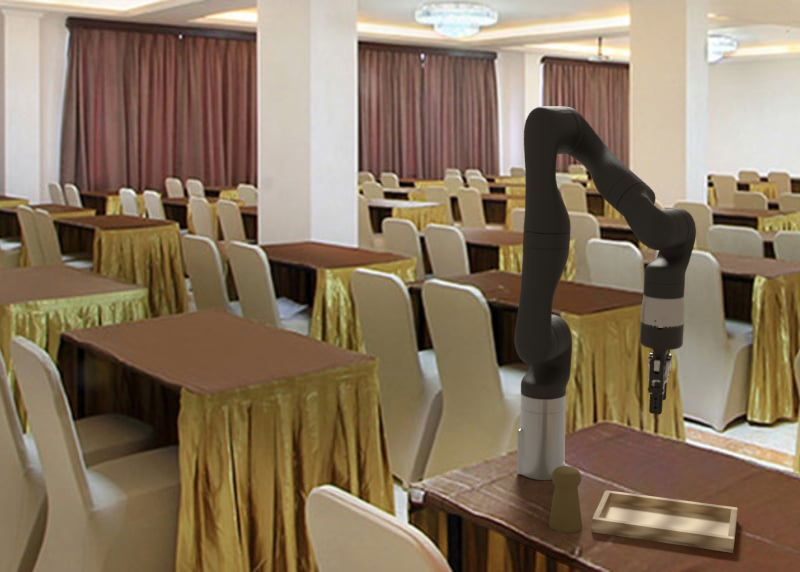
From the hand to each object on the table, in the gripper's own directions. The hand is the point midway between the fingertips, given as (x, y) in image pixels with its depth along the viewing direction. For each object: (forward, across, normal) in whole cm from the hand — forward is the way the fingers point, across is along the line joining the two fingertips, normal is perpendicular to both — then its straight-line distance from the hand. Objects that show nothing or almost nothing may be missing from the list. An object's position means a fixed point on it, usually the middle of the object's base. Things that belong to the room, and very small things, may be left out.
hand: (657, 406), depth 175 cm
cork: (+21, +10, -14) cm, 28 cm away
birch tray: (+21, +5, +3) cm, 22 cm away
